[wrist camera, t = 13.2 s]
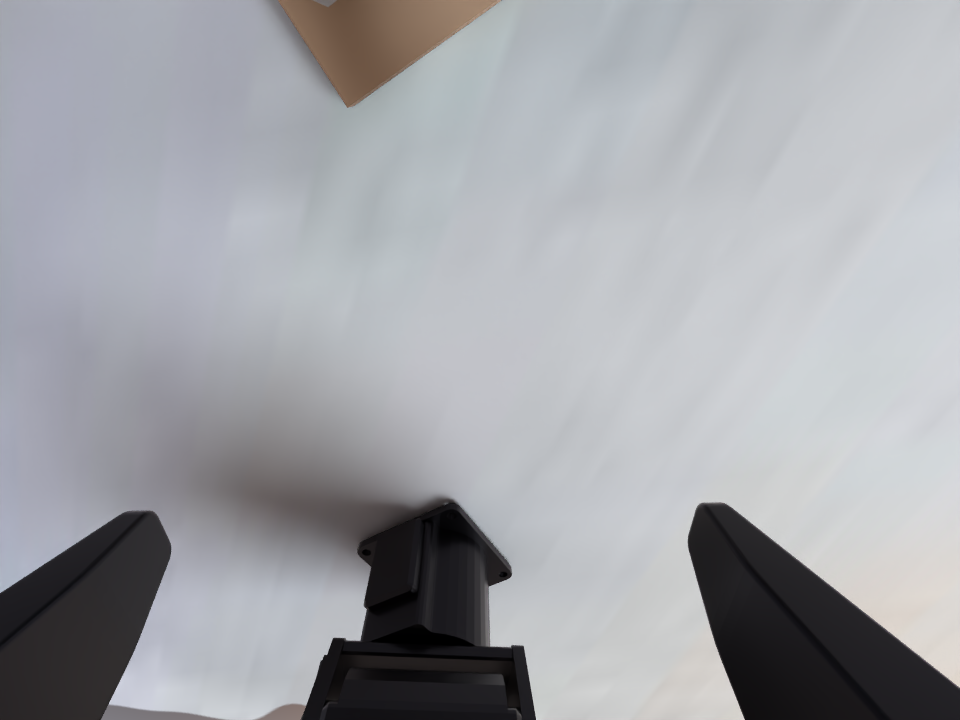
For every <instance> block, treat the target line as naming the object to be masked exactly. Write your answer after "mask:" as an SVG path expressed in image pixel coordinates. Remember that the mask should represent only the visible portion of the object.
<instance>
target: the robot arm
mask: <svg viewBox="0 0 960 720" xmlns="http://www.w3.org/2000/svg"><path fill="white" fill-rule="evenodd" d="M451 512H452V513H453V514H451ZM688 548H689V553H690V556H691V560H692V563H693V567H694V571H695V574H696V578H697V581H698V585H699V589H700V592H701V596H702V599H703V603H704V606H705V610H706V614H707V617H708V621H709V624H710V628H711V631H712V634H713V638H714V641H715V644H716V647H717V649H718V652H719V655H720V658H721V660H722V663H723V665H724V668H725V671H726V673H727V676H728V678H729V681H730V683H731V686H732V688H733V691H734V693H735V696H736V699H737V701H738V704H739V706H740V709H741V711H742V714H743V716H744V719H745V720H960V688H959V687H958V686H957V685H956V684H954V683H953V682H952V681H951V680H949V679H948V678H947V677H945V676H944V675H943V674H942V673H940V672H939V671H938V670H937V669H935V668H934V667H933V666H932V665H930V664H929V663H928V662H926V661H925V660H924V659H923V658H921V657H920V656H919V655H918V654H916V653H915V652H914V651H913V650H911V649H910V648H909V647H907V646H906V645H905V644H904V643H902V642H901V641H900V640H899V639H897V638H896V637H895V636H894V635H892V634H891V633H890V632H888V631H887V630H886V629H885V628H883V627H882V626H881V625H880V624H878V623H877V622H876V621H875V620H873V619H872V618H871V617H869V616H868V615H867V614H866V613H864V612H863V611H862V610H861V609H859V608H858V607H857V606H856V605H854V604H853V603H852V602H850V601H849V600H848V599H847V598H845V597H844V596H843V595H842V594H840V593H839V592H838V591H837V590H835V589H834V588H833V587H831V586H830V585H829V584H828V583H826V582H825V581H824V580H823V579H821V578H820V577H819V576H818V575H816V574H815V573H814V572H812V571H811V570H810V569H809V568H807V567H806V566H805V565H804V564H802V563H801V562H800V561H799V560H797V559H796V558H795V557H793V556H792V555H791V554H790V553H788V552H787V551H786V550H785V549H783V548H782V547H781V546H780V545H778V544H777V543H776V542H774V541H773V540H772V539H771V538H769V537H768V536H767V535H766V534H764V533H763V532H762V531H761V530H759V529H758V528H757V527H755V526H754V525H753V524H752V523H750V522H749V521H748V520H747V519H745V518H744V517H743V516H742V515H740V514H739V513H738V512H736V511H735V510H734V509H733V508H731V507H730V506H729V505H727V504H725V503H700V504H699V505H698V506H697V508H696V511H695V514H694V518H693V521H692V525H691V528H690V531H689V535H688ZM357 552H358V555H359V556H360V557H361V558H362V559H363V560H364V561H365V562H367V563H368V564H369V565H370V566H371V571H370V576H369V581H368V586H367V590H366V595H365V600H364V607H365V608H366V609H367V611H366V616H365V621H364V626H363V631H362V636H361V641H347V640H346V638H333V640H332V643H331V646H330V649H329V651H328V654H327V655H324V657H323V660H321V662H320V666H319V670H318V673H317V677H316V680H315V683H314V686H313V688H312V691H311V694H310V697H309V700H308V702H307V705H306V708H305V711H304V714H303V716H302V718H301V720H536V717H535V711H534V705H533V699H532V693H531V687H530V681H529V675H528V669H527V663H526V657H525V652H524V646H518V645H512V646H511V647H490V624H489V586H491V585H494V584H496V583H499V582H502V581H504V580H507V579H509V578H510V577H511V576H512V569H511V566H510V565H509V563H508V562H507V561H506V560H505V559H504V557H503V556H502V555H501V554H500V553H499V552H498V550H497V549H496V548H495V547H494V546H493V545H492V543H491V542H490V541H489V540H488V539H487V538H486V536H485V535H484V534H483V533H482V532H481V531H480V529H479V528H478V527H477V526H476V525H475V524H474V522H473V521H472V520H471V519H470V518H469V517H468V515H467V514H466V513H465V512H464V511H463V510H462V508H461V507H460V506H459V505H457V504H454V503H450V504H446V505H444V506H442V507H439V508H437V509H435V510H433V511H430V512H428V513H426V514H423V515H421V516H419V517H417V518H414V519H412V520H410V521H407V522H405V523H403V524H401V525H398V526H396V527H394V528H391V529H389V530H387V531H385V532H382V533H380V534H378V535H376V536H373V537H371V538H369V539H366V540H364V541H362V542H361V543H360V544H359V547H358V551H357ZM170 555H171V543H170V541H169V539H168V536H167V534H166V532H165V530H164V528H163V526H162V524H161V522H160V520H159V518H158V516H157V514H156V513H154V512H153V511H127V512H124V513H122V514H121V515H119V516H117V517H116V518H114V519H113V520H111V521H110V522H108V523H107V524H105V525H104V526H102V527H101V528H99V529H98V530H96V531H94V532H93V533H91V534H90V535H88V536H87V537H85V538H84V539H82V540H81V541H79V542H78V543H76V544H75V545H73V546H72V547H70V548H68V549H67V550H65V551H64V552H62V553H61V554H59V555H58V556H56V557H55V558H53V559H52V560H50V561H49V562H47V563H46V564H44V565H43V566H41V567H39V568H38V569H36V570H35V571H33V572H32V573H30V574H29V575H27V576H26V577H24V578H23V579H21V580H20V581H18V582H17V583H15V584H14V585H12V586H10V587H9V588H7V589H6V590H4V591H3V592H1V593H0V720H101V718H102V716H103V714H104V712H105V710H106V708H107V706H108V704H109V702H110V700H111V698H112V696H113V694H114V692H115V690H116V688H117V686H118V684H119V682H120V680H121V678H122V675H123V673H124V671H125V669H126V667H127V665H128V663H129V661H130V659H131V657H132V654H133V652H134V650H135V647H136V645H137V643H138V640H139V638H140V635H141V633H142V630H143V628H144V625H145V622H146V620H147V617H148V614H149V612H150V609H151V607H152V604H153V601H154V599H155V596H156V593H157V591H158V588H159V586H160V583H161V580H162V578H163V575H164V572H165V570H166V567H167V565H168V562H169V559H170Z"/></svg>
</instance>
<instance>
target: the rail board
mask: <svg viewBox="0 0 960 720" xmlns="http://www.w3.org/2000/svg"><path fill="white" fill-rule="evenodd" d="M278 1H279V3H280V4H281V6H282V7H283V9H284V10H285V12H286V13H287V15H288V17H289V18H290V20H291V21H292V23H293V24H294V26H295V27H296V29H297V30H298V32H299V34H300V35H301V37H302V38H303V40H304V41H305V43H306V44H307V46H308V47H309V49H310V51H311V52H312V54H313V55H314V57H315V58H316V60H317V61H318V63H319V64H320V66H321V68H322V69H323V71H324V72H325V74H326V75H327V77H328V78H329V80H330V81H331V83H332V85H333V86H334V88H335V89H336V91H337V92H338V94H339V95H340V97H341V98H342V100H343V102H344V103H345V105H346V106H347V108H348V107H352V106H355V105H356V104H357V103H359V102H360V101H362V100H363V99H364V98H366V97H367V96H369V95H370V94H371V93H373V92H374V91H376V90H377V89H378V88H380V87H381V86H383V85H384V84H385V83H387V82H388V81H390V80H391V79H392V78H394V77H395V76H397V75H398V74H399V73H401V72H402V71H404V70H405V69H406V68H408V67H409V66H411V65H412V64H413V63H415V62H416V61H418V60H419V59H420V58H422V57H423V56H425V55H426V54H427V53H429V52H430V51H431V50H433V49H434V48H436V47H437V46H438V45H440V44H441V43H443V42H444V41H445V40H447V39H448V38H450V37H451V36H452V35H454V34H455V33H457V32H458V31H459V30H461V29H462V28H464V27H465V26H466V25H468V24H469V23H471V22H472V21H473V20H475V19H476V18H478V17H479V16H480V15H482V14H483V13H485V12H486V11H487V10H489V9H490V8H492V7H493V6H494V5H496V4H497V3H499V2H500V1H501V0H337V1H336V2H334V3H333V4H332V5H330V6H329V7H327V6H324V5H322V4H320V3H318V2H315V1H313V0H278Z"/></svg>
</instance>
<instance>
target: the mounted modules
mask: <svg viewBox="0 0 960 720" xmlns="http://www.w3.org/2000/svg"><path fill="white" fill-rule="evenodd" d="M313 1H315V2H318V3H320V4H322V5H324V6H327V7H329V6H330V5H332V4H333V3H334V2H336V1H337V0H313Z"/></svg>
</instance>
